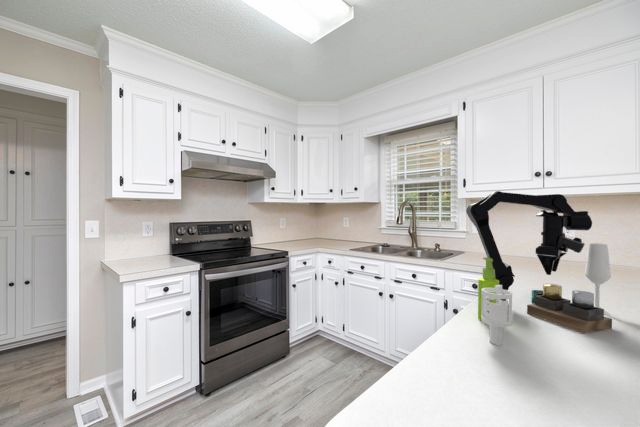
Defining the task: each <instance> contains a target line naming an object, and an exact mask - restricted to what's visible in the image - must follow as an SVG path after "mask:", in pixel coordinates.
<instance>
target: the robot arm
mask: <svg viewBox="0 0 640 427" xmlns="http://www.w3.org/2000/svg"><path fill="white" fill-rule="evenodd" d="M499 203H504V204H513V205H522V206H524V205H525V206H531V207H534V208H536V209H540V212H539V213H537V214H535V216H536V217H539V218H540V217H542V231H541V233H540V234H541V236H542V240H541V243H540V245H539V246H537V247H535V254H536V256H537V258H538V259H539V261H540V264H541V265H542V268H543V270H544V272H545V275H548V276H551V275H552V272H555V273H556V272H557V270H558V267H559V264H560V261H561V259H562V257H563V256H565V255H567V253H568V250H571V251H573V252H575V253H578V254H579V253H582V251H583V249H584V247H585V243H584V242H582V238H579V237H575V238H570V237H566V233H565V232H564V229H566V230H567V231H589V230H591V229H592V227H593V226H592V225H593V221H592V217H591V216H590V215H589V211H588V210H587V211H585V210H579V211H575V210H574V209H573V208H572V206H571V205H570V204H569V203H568V199H567V198H566V197H565V195H563V194H560V193H558V194H557V193H556V194H555V193H554V194H541V195H540V194H537V195H534V194H525V193H524V194H523V193H513V192H505V191H504V192H503V191H499V190H497V191H496V190H495V191H492V192H490V194H488V195H486V196H485V197H484V198H482V199H480V200H479V201H477V202H475V203H471V204H469V205H468V206H467V207H466V210H465V211H466V214H467V217H468V218H469V220H470V222H471V223H472V224H473V225H474V227H475V228H476V230H477V233H478V236H479V239H480V242H481V244H482V247H483V250H484V252H485V255H486V258H492V259H493V262H492V268H493V269H495V279H497V280H499V285H502V289H504V290H508V291H509V288H510V287H511V286H512V285H513V283H514V282H515V280H514V278H515V277H516V276H515V274H514V273H513V269H512V268H513V267H512V266H511V265H510V264H507V263H505V262H503V259H502V256H501V253H500V251H499V248H498V246H497V243H496V241H495V238H494V234H493V232H492V230H491V227H490V215H489V211H490V210H491V209H493V208H494V207H496V206H497V205H498V204H499ZM560 214H562V215H560ZM500 300H502V301H506V300H507V299H500Z"/></svg>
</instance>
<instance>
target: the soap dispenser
mask: <svg viewBox="0 0 640 427" xmlns="http://www.w3.org/2000/svg"><path fill="white" fill-rule="evenodd" d="M483 260H485V267H483V268H482V277H479V278H478V279H477V280H478V285H477V286H478V290H477V292H478V293H477V294H478V296H477V297H478V298H477V299H478V300H477V304H478V305H477V309H478V310H477V319H478V320H479V321H481V322H483V321H482V320H481V300H482V294H481V289H482V288H495V285H499V280H497V279H495V269H493V268H492V262H493V259H492V258H487V257H483ZM489 293H494V294H496V292H489ZM485 297H487V296H485ZM496 300H497V299H495V300H490V302H491V303H495V304H496Z"/></svg>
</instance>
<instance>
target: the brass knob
mask: <svg viewBox="0 0 640 427" xmlns="http://www.w3.org/2000/svg"><path fill="white" fill-rule="evenodd" d="M542 291H543V297H546V298H550V299H562V298H563V287H562V285H559V284H555V283H543V284H542Z"/></svg>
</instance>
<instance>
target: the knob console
mask: <svg viewBox="0 0 640 427" xmlns="http://www.w3.org/2000/svg"><path fill="white" fill-rule="evenodd" d="M604 310H605V309H604V308H602V307H601V308H598V307H594V308H583V307H578V306H575V305H573V304H572V300H570V299H568V298H563V297H562V299H550V298H546V297H543V295H540V296H535V304H534V303H532V304H527V305H526V314H528V315H529V316H533V317H536V318H538V319H539V318H540V319H542V320H545V321H547V322H551V323H553V324H556V325H559V326H561V327H565V328H567V329H570V330H573V331H576V332H580V333H582V334H589V333H595V332H600V331H601V332H602V331H606V330H612V329H613V318H610V317H607V316H605V315H604Z"/></svg>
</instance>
